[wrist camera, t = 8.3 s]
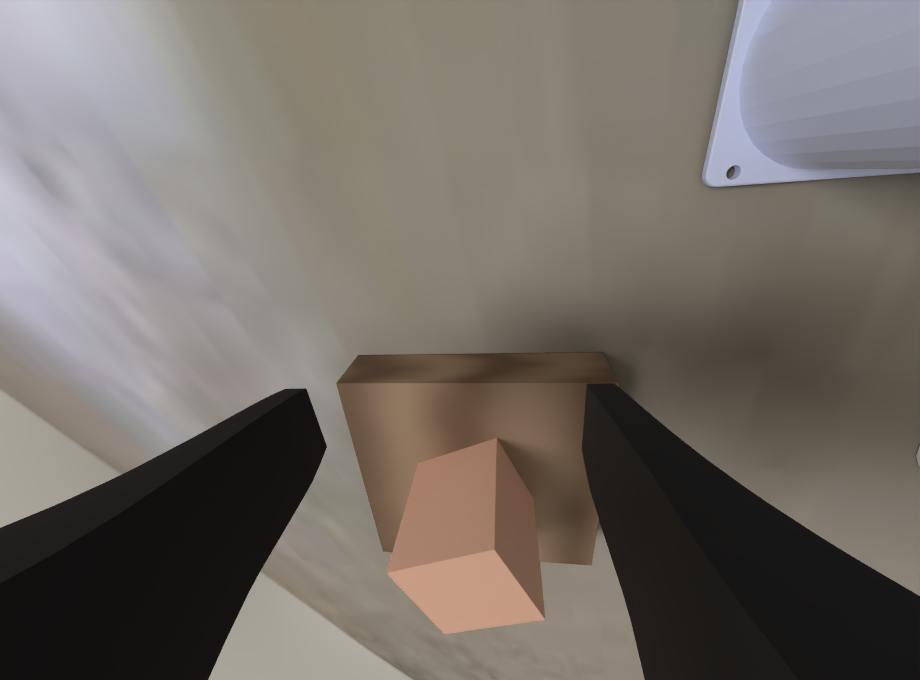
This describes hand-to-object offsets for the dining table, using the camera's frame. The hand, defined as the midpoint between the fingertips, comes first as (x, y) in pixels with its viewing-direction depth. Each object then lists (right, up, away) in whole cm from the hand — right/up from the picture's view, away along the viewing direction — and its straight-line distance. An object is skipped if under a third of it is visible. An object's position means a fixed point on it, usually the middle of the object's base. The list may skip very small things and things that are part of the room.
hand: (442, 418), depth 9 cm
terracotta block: (+1, -6, +11) cm, 13 cm away
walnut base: (+2, -5, +14) cm, 15 cm away
